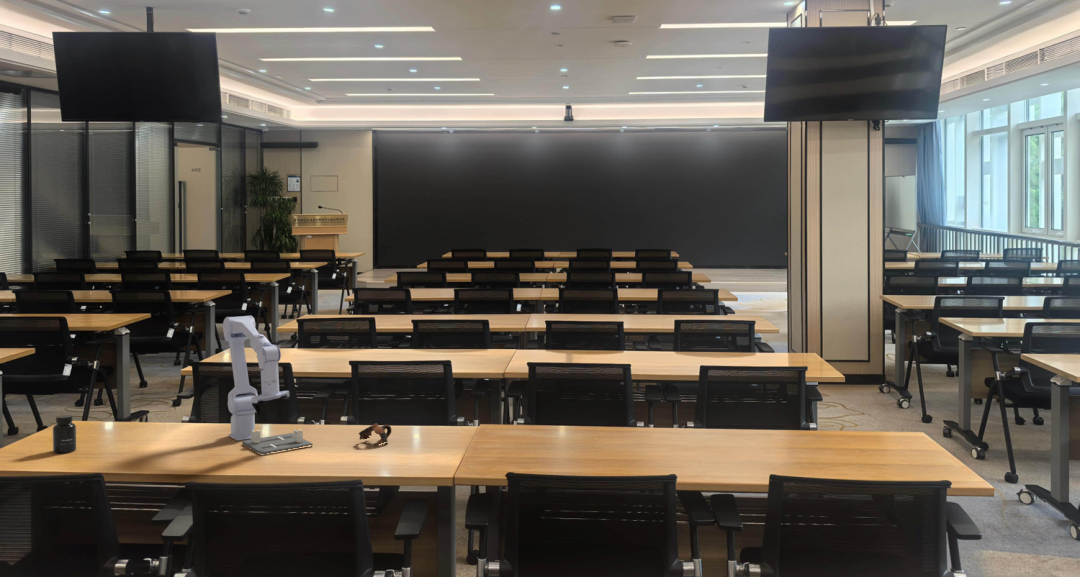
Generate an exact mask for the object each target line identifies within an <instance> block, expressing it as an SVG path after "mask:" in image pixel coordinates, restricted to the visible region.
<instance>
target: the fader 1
mask: <svg viewBox="0 0 1080 577" xmlns="http://www.w3.org/2000/svg"><path fill="white" fill-rule="evenodd" d="M251 435H252V438H251V440H252V442H253V443H260V438H261V431H260V430H258V429H256V428H255V429H254V430H251Z"/></svg>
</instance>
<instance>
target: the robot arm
mask: <svg viewBox="0 0 1080 577" xmlns="http://www.w3.org/2000/svg"><path fill="white" fill-rule="evenodd" d="M222 331H223V337H224V341H226V342H227V343H228V346H229V351H230V359H231V367H232V375H233V381H234V387H233V388H232V389H231V390H230V391H229V392H228V394H227V407H228V411H229V413H231V414H232V415H231V416H230V433H228V437H231V438H232V439H234V441H246V440H252V435H251V430H254V429H255V430H256V424H255V422H256V421H255V420H256V419H255V417H256V416H255V413H256V414H257V417H258V420H259V423H260V424H266V422H267V410H268V409H267V408H268V403H267V401H271V400H274V403H275V406H276V416H277V419H278V420H284V418H285V412H286V409H287V406H288V404H289V402H290V391H289V390H282V391H280V380H279V362H280V361H281V357H282V353H281V349H280V347H279V346H278V345H277V344H272V343H271V342H270V340H269V339H268V338H267V337H266V336H265V335H264V334H262V333H259V331H258V330H257V329H256V321H255V317H253V316H252V315H251V314H250V315H244V316H243V315H242V316H226V317H225V318H224V319H223V323H222ZM246 340H249V345H250V348H252V350H253V351H254V353H255V354H256V358H257V362H258V368H259V369H260V381H261V382H260V384H261V386H260V387H261V394H259V395H258V390H257V389H256V388H255V387H253V386H251V385H250V380H249V374H248V373H249V372H248V366H247V358H246V353H245V352H246V351H245V341H246Z"/></svg>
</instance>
